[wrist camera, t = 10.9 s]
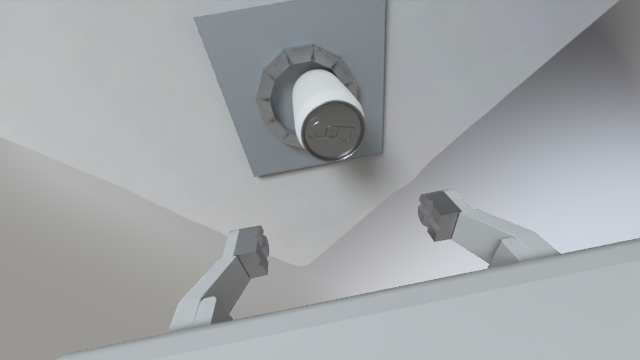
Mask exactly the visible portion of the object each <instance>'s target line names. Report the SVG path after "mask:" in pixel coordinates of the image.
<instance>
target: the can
mask: <svg viewBox="0 0 640 360" xmlns="http://www.w3.org/2000/svg"><path fill="white" fill-rule="evenodd" d="M292 101H293V113H294V122H295V130H296V135H297V137H298V140H299V142H300V144H301V145H302V146H303V147H304V149H305V150H306V151H307V152H308V153H309V154H310V155H311V156H312V157H314V158H315V159H317V160H320V161H323V162H338V161H342V160H344V159H347V158H348V157H350V156H352V155H353V154H354V153H355V152H356V151H357V150H358V149H359V148H360V146H361V145H362V143H363V141H364V138H365V134H366V123H365V115H364V111H363V109H362V107H361V105H360V103H359V102H358V100H357V99H356V98H355V97H354V96H353V95H352V93H351V92H350V91H349V90H348V89H347V88H346V87H345V86H344V85H343V84H342V83H341V81H340V80H339V79H338V78H337V77H336V76H335V75H333V74H332V73H330V72H329V71H326V70H322V69H314V70H310V71H308V72H306V73H304V74H303V75H301V76H300V77H299V79H298V80H297V81H296V83H295V85H294V87H293V92H292Z"/></svg>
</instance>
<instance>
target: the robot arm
mask: <svg viewBox="0 0 640 360" xmlns="http://www.w3.org/2000/svg"><path fill="white" fill-rule="evenodd" d="M419 200H420V202H421V205H420V206H419V207H418V216H419V219H420V221H421V223H422V224H423V225H424V226H427V227H428V233H429V234H430V236H431V237H432V239H433V240H434V242H435V241H441V240H447V239H452V240H453V241H454V242H456V243H458V244H459V245H461V246H462V247H464V248H466V249H467V250H469V251H470V252H472V253H474V254H475V255H477V256H478V257H480V258H481V259H483V260H484V261H486V262H487V263H489V266H488V268H487V269H484V270H479V271H475V272H469V273H464V274H459V275H455V276H450V277H445V278H439V279H435V280H430V281H425V282H420V283H415V284H410V285H405V286H400V287H395V288H390V289H385V290H380V291H375V292H370V293H365V294H360V295H355V296H350V297H345V298H340V299H336V300H331V301H326V302H321V303H316V304H311V305H306V306H301V307H296V308H291V309H286V310H281V311H276V312H271V313H266V314H261V315H256V316H251V317H246V318H241V319H236V320H233V319H232V317H231V316H230V315H229V313H230V312H231V310H232V308H233V307H234V305H235V303H236V302H237V300H238V299H239V297H240V296H241V294H242V292H243V290H244V289H245V287H246V286H247V284H248V282H249V281H250V278H255V277H259V276H264V275H267V273H268V261H267V259H266V258H267V256H268V255H269V244H268V240H267V238H266V236H264V235H263V231H264V230H263V228H262V226H255V227H249V228H243V229H239V230H232V231H230V232H229V234H228V238H227V241H226V245H225V249H224V253H223V256H222V259H219V260H218V261H217V262H216V263H215V264H214V265H213V266H212V267H211V268H210V269H209V270H208V272H207V273H206V274H205V275H204V276H203V277H202V278H201V279H200V280H199V282H197V283H196V285H195V286H194V287H193V288H192V289H191V290H190V291H189V292H188V293H187V294H186V295H185V296H184V297H183V299H182V300H181V301H180V302H179V304H178V306H177V309H176V312H175V314H174V317H173V320H172V322H171V325H170V328H169V330H168V333H166V334H161V335H157V336H151V337H146V338H142V339H137V340H132V341H127V342H122V343H117V344H112V345H107V346H102V347H97V348H92V349H86V350H81V351H76V352H72V353H69V354H66V355H64V356H61V357H60V358H58V359H57V360H640V238H638V239H633V240H628V241H623V242H618V243H613V244H609V245H603V246H599V247H594V248H588V249H583V250H579V251H573V252H568V253H564V254H560V253H559V252H558V251H557V250H556V249H554V248H553V247H552V246H551V245H550V244H548V243H547V242H546V241H545V240H544V239H543V238H541V237H540V236H539V235H538V234H537V233H536V232H534V231H531V230H529V229H526V228H524V227H521V226H519V225H516V224H513V223H511V222H509V221H506V220H504V219H501V218H498V217H496V216H493V215H491V214H488V213H486V212H483V211H481V210H478V209H473V208H472V207H471V206H470V205H469V204H468V203H467V202H466V201H464V199H463V198H462V197H460V195H459V194H458V193H457V192H456V191H454V190H453V189H446V190H441V191H436V192H431V193H426V194H422V195H421V196H420V199H419Z"/></svg>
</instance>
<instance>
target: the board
mask: <svg viewBox="0 0 640 360" xmlns="http://www.w3.org/2000/svg"><path fill="white" fill-rule="evenodd" d="M385 4H386V0H293V1H287V2H282V3H276V4H270V5H264V6H258V7H253V8H247V9H241V10H235V11H229V12H223V13H218V14H212V15H206V16H200V17H194V20H195V22H196V25H197V28H198V30H199V33H200V35H201V38H202V41H203V43H204V46H205V49H206V51H207V54H208V56H209V59H210V62H211V64H212V67H213V70H214V72H215V75H216V78H217V80H218V83H219V85H220V88H221V91H222V93H223V96H224V99H225V101H226V104H227V107H228V109H229V112H230V114H231V117H232V120H233V122H234V125H235V128H236V130H237V133H238V136H239V138H240V141H241V143H242V146H243V149H244V151H245V154H246V157H247V159H248V162H249V164H250V167H251V170H252V172H253V175H254V177H257V176H262V175H267V174H272V173H278V172H283V171H288V170H294V169H299V168H304V167H310V166H315V165H320V164H325V163H331V162H323V161H320V160H317V159H315V158H314V157H312V156H311V155H310V154H309V153H308V152H307V151H306V150H305V149H302V148H299V147H295V146H292V145H289V144H285V143H282V141H280V140H279V139H278V138H277V137H276V136H275V135H274V134H273V133H272V132H271V131H270V130H269V129H268V128H266V127H265V126H264V125H265V124H263V121H262V117H261V114H260V111H259V107H258V104H257V101H256V99H257V98H256V96H257V92H258V88H259V84H260V80H261V76H262V72H263V69H264V67H265V66H266V65H267V64H268V63H269V62H271V61H272V60H273V59H274V58H275V57H276V56H277V55H278V54H279V53H280V52H281V51H282V50H283V49H284V50H285V48H288V47H293V46H299V45H305V44H310V43H312V44H315V45H318V46H320V47H322V48H324V49H326V50H329V51H331V52H333V53H335V54H337V55H339V56H340V57H341V58H342V59H343V61H344V62H345V64H346V65H347V67H348V68H349V70H350V72H351V73H352V75H353V76H354V78H355V79H356V80H355V81H356V84H357V100H358V102H359V103H360V105H361V107H362V109H363V111H364V115H365V123H366V134H365V138H364V141H363V143H362V145H361V146H360V148H359V149H358V150H357V151H356V152H355V153H354V154H353V155H352V156H350V157H348V158H347V159H352V158H357V157H362V156H368V155H373V154H378V153H382V137H383V92H384V48H385ZM314 69H322V70H326V71H329V72H330V73H332V74H333V75H335V73H334V72H333V71H332V69H331V68H328V67H326V66H324V65H321V64H319V63H317V62H314V61H308V62H303V63H297V64H291V65H290V66H289V67H288V68H287V69H286V70H285V71H284V72H283V73H281V74H280V75H279V76H278V77H277V78H276V79H275V82H274V85H273V89H272V93H271V96H270V97H271V101H272V104H273V108H274V112H275V115H276V116H277V117H278V118H279V119H280V120H281V121H282V122H283V123H284V124H285V125H286V127H287V128H290V129H293V130H295V122H294V113H293V101H292V92H293V87H294V85H295V83H296V81H297V80H298V79H299V77H300V76H301V75H303V74H304V73H306V72H308V71H310V70H314ZM335 76H336V75H335ZM336 77H337V76H336ZM347 159H344V160H347Z"/></svg>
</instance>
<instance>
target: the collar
mask: <svg viewBox="0 0 640 360" xmlns="http://www.w3.org/2000/svg"><path fill="white" fill-rule="evenodd" d="M308 61H314V62H317V63H319V64H321V65H324V66H326V67H328V68H331V69H332V71H333V72H334V73H335V75H336V76H337V78H338V79H339V80H340V81H341V83H342V84H343V85H344V86H345V87H346V88H347V89H348V90H349V91H350V92H351V93H352V95H353V96H354V97H355V98H356V99H357V84H356V81H355V80H356V79H355V78H354V76H353V75H352V73H351V72H350V70H349V68H348V67H347V65H346V64H345V62H344V61H343V59H342V58H341V57H340V56H339V55H337V54H335V53H333V52H331V51H329V50H326V49H324V48H322V47H320V46H318V45H315V44H312V43H310V44H305V45H299V46H293V47H288V48H285V50H284V49H283V50H282V51H281V52H280V53H279V54H278V55H277V56H276V57H275V58H274V59H273V60H272V61H271V62H269V63H268V64H267V65H266V66H265V67H264V69H263V72H262V76H261V80H260V84H259V88H258V92H257V96H256V98H257V99H256V101H257V104H258V107H259V111H260V114H261V117H262V121H263V124H265V125H264V126H265V127H266V128H268V129H269V130H270V131H271V132H272V133H273V134H274V135H275V136H276V137H277V138H278V139H279V140H280V141H282V143H285V144H289V145H292V146H295V147H299V148H302V149H304V147H303V146H302V145H301V144H300V142H299V140H298V137H297V135H296V130H293V129H290V128H287V127H286V125H285V124H284V123H283V122H282V121H281V120H280V119H279V118H278V117H277V116H276V115H275V112H274V108H273V104H272V101H271V97H270V96H271V93H272V89H273V85H274V82H275V79H276V78H277V77H278V76H279V75H280V74H281V73H283V72H284V71H285V70H286V69H287V68H288V67H289V66H290V65H291V64H297V63H303V62H308Z"/></svg>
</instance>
